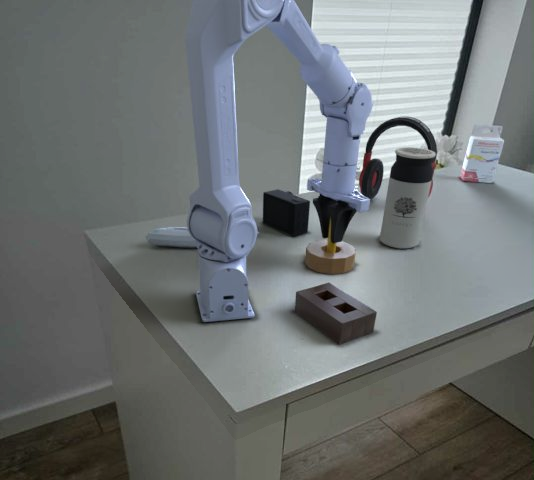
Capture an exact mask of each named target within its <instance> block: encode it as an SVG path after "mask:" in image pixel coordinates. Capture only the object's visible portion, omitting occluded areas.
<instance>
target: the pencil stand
mask: <svg viewBox="0 0 534 480" xmlns="http://www.w3.org/2000/svg"><path fill="white" fill-rule="evenodd" d="M294 313H296V314H297V315H299V316H300V317H301V318H303V319H304V320H305V321H307V322H308V323H310V324H311V325H312V326H314V327H315V328H316V329H317V330H318V331H320V332H322V333H323V334H324V335H326V336H327V337H329V338H330V339H331V340H333V341H334V342H335V343H337V344H338V345H342V344H346V343H348V342H351V341H353V340H356V339H359V338H362V337H365V336H367V335H370V334H372V333H374V330H375V325H376V319H377V315H378V312H377V311H376V310H375V309H373V308H372V307H370V306H369V305H367V304H365V303H363V302H362V301H360V300H359V299H357V298H355V297H353V296H352V295H351V294H348V293H347V292H345V291H344V290H342V289H341V288H339V287H337V286H335V285H334V284H332V283H331V282H325V283H322V284H319V285H315V286H312V287H308V288H303V289H301V290H297V291H295V300H294Z"/></svg>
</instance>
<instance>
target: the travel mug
mask: <svg viewBox="0 0 534 480" xmlns="http://www.w3.org/2000/svg"><path fill="white" fill-rule="evenodd" d="M394 153H395V161H394V162H393V164H392V166H391V167H390V172H389V178H388V185H387V191H386V197H385V203H384V209H383V215H382V221H381V228H380V235H379V241H380V242H381V243H382V244H384V245H385V246H388V247H391V248H395V249H411V248H415V247H417V246H418V245H419V243H420V238H421V233H422V229H423V224H424V219H425V214H426V210H427V206H428V200H429V198H428V196H429V191H430V186H431V181H432V179H433V178H432V177H434V174H433V172H434V173H435V170H434V171H433V168H432V164H431V163H432V160H433V158H434V157H435V156H436V153H435V152H433V151H431V150H428V148H421V147H412V146H411V147H410V146H409V147H398V148H396V149H395V150H394ZM429 197H430V196H429Z"/></svg>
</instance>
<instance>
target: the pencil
mask: <svg viewBox="0 0 534 480" xmlns="http://www.w3.org/2000/svg"><path fill="white" fill-rule="evenodd" d="M327 240H328V244H327V252H329V253H335V251H336V243H332V242H331V219H330V224H329V234H328V238H327Z"/></svg>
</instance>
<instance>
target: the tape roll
mask: <svg viewBox="0 0 534 480" xmlns="http://www.w3.org/2000/svg"><path fill="white" fill-rule="evenodd" d="M327 244H328V239H318V240H315V241H311V242H309V243H308V244H307V245H306V247H305V255H304V256H305V257H304V263H305V265H306V267H307V268H308V269H310V270H312V271H315V272H317V273H321V274H327V275H339V274H340V275H341V274H345V273H348V272H350V271H352V270H353V268H354V266H355V261H356V254H357V249H356V248H355V247H354V246H353V245H352V244H350V243H347V242H345V241H342V242H337V243H336V251H335V253H329V252H327Z"/></svg>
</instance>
